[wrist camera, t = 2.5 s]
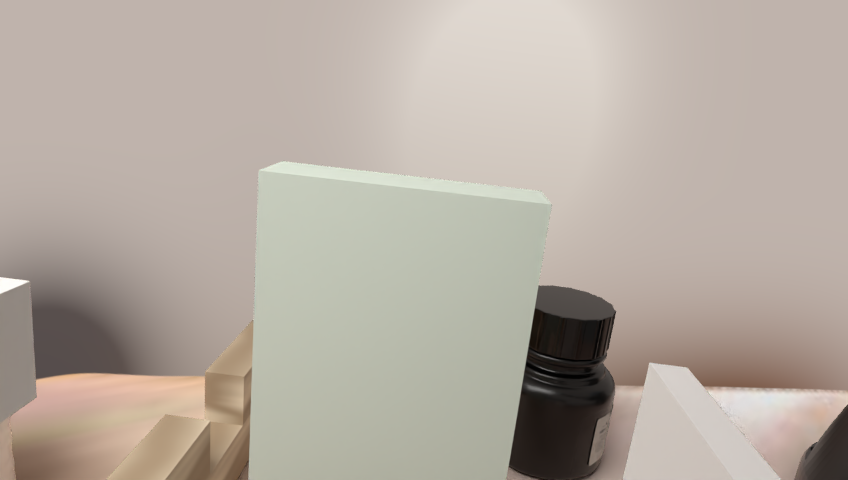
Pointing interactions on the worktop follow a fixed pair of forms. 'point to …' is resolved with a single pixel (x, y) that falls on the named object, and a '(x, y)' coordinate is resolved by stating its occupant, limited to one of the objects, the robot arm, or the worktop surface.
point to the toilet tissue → (6, 452)
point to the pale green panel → (389, 324)
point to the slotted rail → (202, 428)
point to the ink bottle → (565, 386)
